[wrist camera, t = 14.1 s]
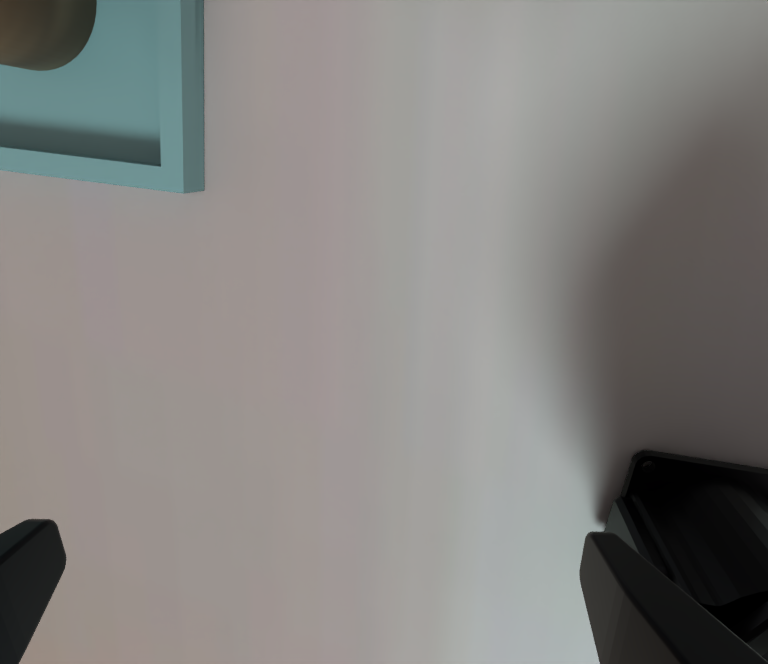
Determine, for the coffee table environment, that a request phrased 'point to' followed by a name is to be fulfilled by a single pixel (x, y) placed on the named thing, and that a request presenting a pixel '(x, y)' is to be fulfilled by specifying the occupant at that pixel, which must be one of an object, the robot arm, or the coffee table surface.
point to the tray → (115, 102)
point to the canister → (44, 32)
